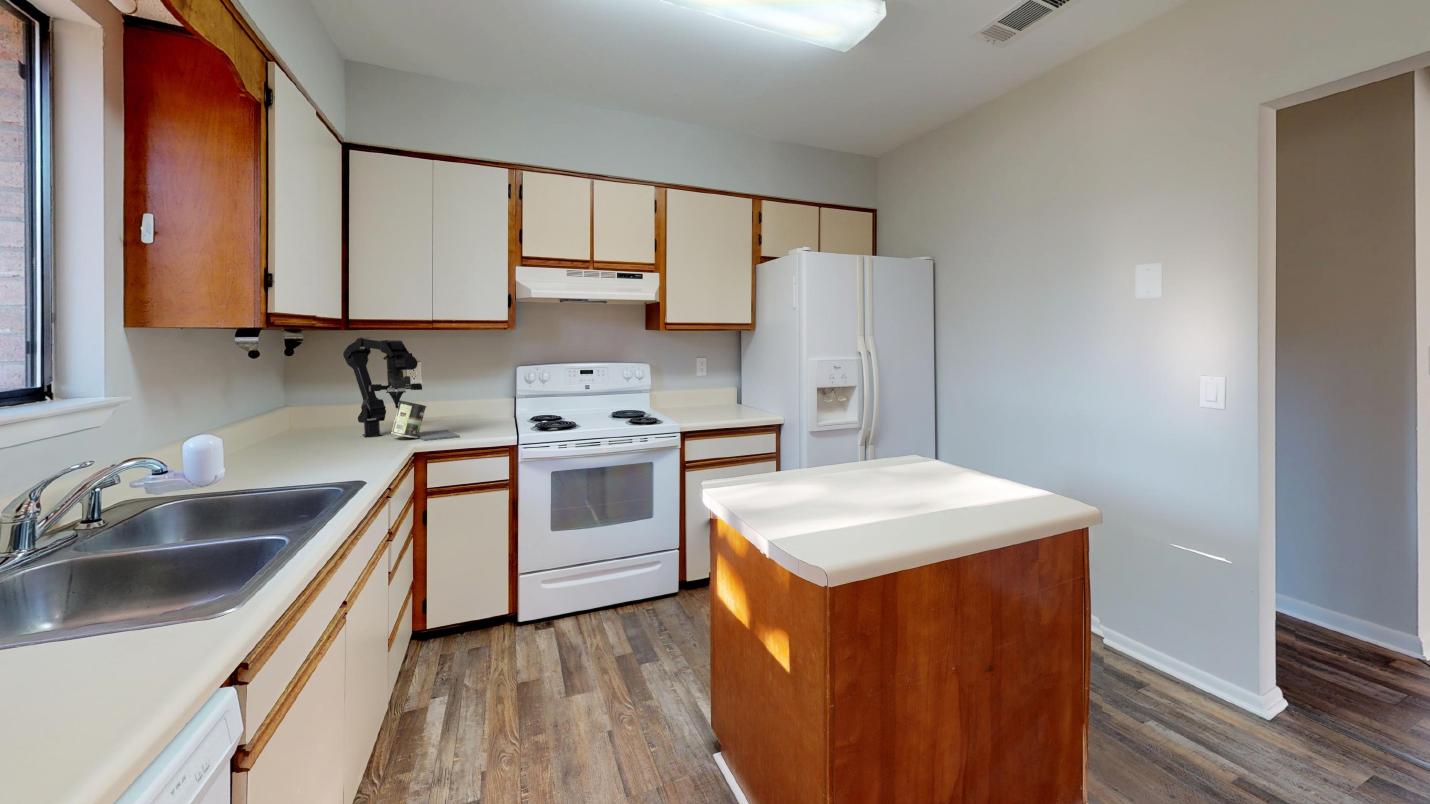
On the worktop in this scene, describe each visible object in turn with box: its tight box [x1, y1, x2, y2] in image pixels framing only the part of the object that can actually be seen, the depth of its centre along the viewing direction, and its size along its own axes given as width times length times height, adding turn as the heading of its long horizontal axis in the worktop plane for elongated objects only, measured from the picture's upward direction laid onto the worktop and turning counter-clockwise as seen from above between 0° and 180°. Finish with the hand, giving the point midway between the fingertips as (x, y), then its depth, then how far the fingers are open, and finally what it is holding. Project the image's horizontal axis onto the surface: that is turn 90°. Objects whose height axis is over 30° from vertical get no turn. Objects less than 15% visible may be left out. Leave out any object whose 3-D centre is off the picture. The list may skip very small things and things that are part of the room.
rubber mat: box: [417, 429, 461, 441], centre depth 243 cm, size 20×14×1 cm
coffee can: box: [390, 400, 427, 439], centre depth 236 cm, size 10×10×14 cm
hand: (396, 408), depth 232 cm, fingers closed
